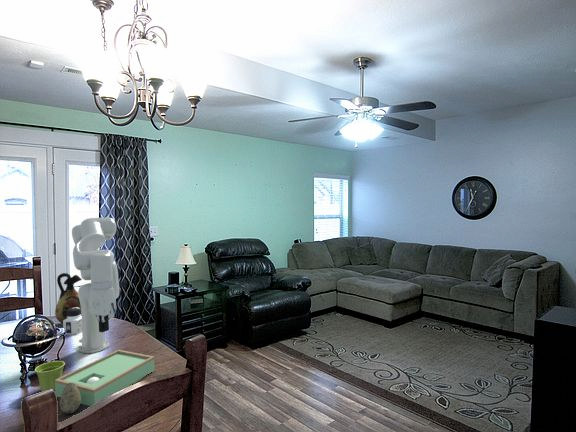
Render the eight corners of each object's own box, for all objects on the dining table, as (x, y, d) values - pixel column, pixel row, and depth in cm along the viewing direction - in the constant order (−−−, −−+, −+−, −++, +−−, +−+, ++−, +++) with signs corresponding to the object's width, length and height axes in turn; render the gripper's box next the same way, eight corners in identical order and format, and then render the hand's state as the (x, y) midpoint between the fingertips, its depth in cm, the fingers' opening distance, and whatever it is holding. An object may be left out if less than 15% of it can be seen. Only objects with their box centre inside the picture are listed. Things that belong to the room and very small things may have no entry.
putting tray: (55, 396, 129) (54, 379, 129) (119, 363, 155) (118, 349, 155) (94, 407, 122) (94, 390, 121) (154, 370, 148) (154, 356, 147)
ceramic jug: (89, 318, 218) (86, 269, 217) (83, 326, 204) (81, 274, 202) (56, 321, 213) (54, 271, 211) (48, 330, 198) (46, 277, 197)
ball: (84, 376, 132) (96, 376, 136) (80, 391, 130) (93, 390, 134) (93, 377, 130) (105, 377, 134) (89, 392, 128) (102, 392, 132)
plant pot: (45, 383, 139) (44, 361, 139) (70, 381, 140) (69, 360, 140) (30, 396, 130) (28, 372, 130) (57, 394, 131) (56, 371, 130)
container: (77, 334, 191) (76, 310, 191) (63, 334, 191) (62, 310, 191) (85, 329, 199) (84, 306, 198) (72, 329, 199) (71, 306, 198)
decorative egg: (72, 418, 116) (70, 388, 115) (55, 417, 117) (54, 387, 116) (85, 408, 121) (84, 379, 121) (70, 406, 123) (68, 378, 122)
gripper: (80, 285, 138) (82, 331, 139) (107, 289, 132) (109, 337, 133) (97, 280, 145) (99, 325, 146) (124, 284, 139) (125, 330, 140)
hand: (104, 330), depth 140 cm, fingers closed
